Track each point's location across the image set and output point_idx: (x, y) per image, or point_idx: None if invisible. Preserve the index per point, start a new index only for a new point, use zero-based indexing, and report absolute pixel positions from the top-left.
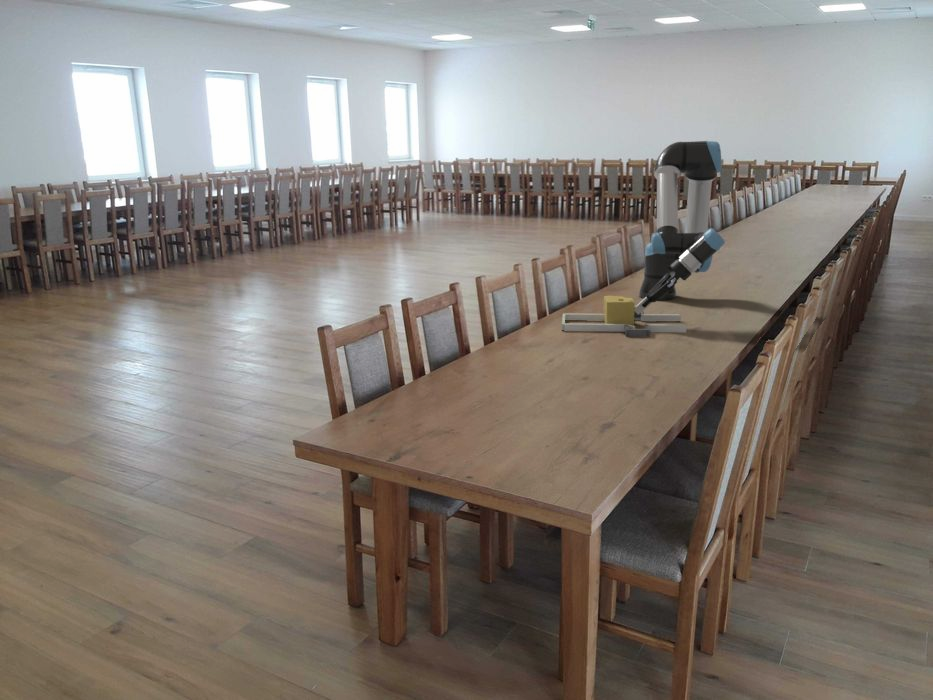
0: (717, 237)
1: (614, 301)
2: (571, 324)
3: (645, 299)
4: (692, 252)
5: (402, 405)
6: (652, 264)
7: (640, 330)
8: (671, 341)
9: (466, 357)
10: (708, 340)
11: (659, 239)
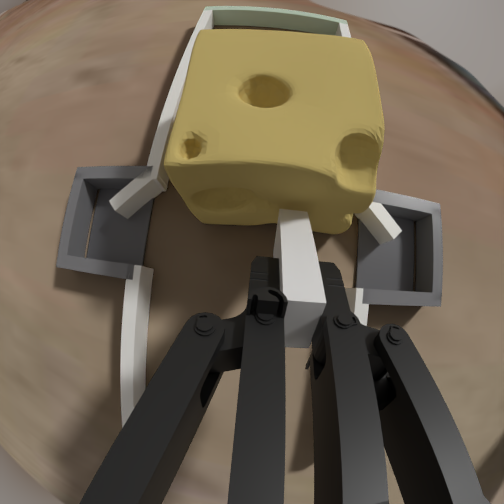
0: None
1: (211, 53)
2: (199, 20)
3: (281, 288)
4: None
5: (7, 18)
6: None
7: (64, 227)
8: (29, 332)
9: None
10: (54, 445)
11: None
